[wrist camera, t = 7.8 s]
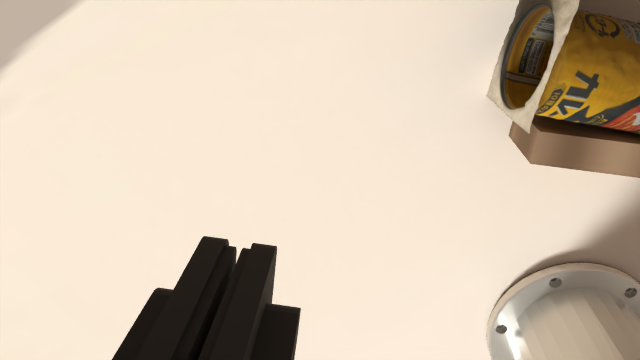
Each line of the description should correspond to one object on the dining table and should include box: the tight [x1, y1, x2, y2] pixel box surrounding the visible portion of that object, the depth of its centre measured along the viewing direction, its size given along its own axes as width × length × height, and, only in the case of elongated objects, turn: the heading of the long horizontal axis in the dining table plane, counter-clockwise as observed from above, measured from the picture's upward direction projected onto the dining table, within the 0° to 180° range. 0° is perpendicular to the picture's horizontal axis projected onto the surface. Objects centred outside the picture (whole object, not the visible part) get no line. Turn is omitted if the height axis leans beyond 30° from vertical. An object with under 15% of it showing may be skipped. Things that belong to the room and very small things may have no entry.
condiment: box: [487, 0, 640, 135], centre depth 30 cm, size 7×8×12 cm
